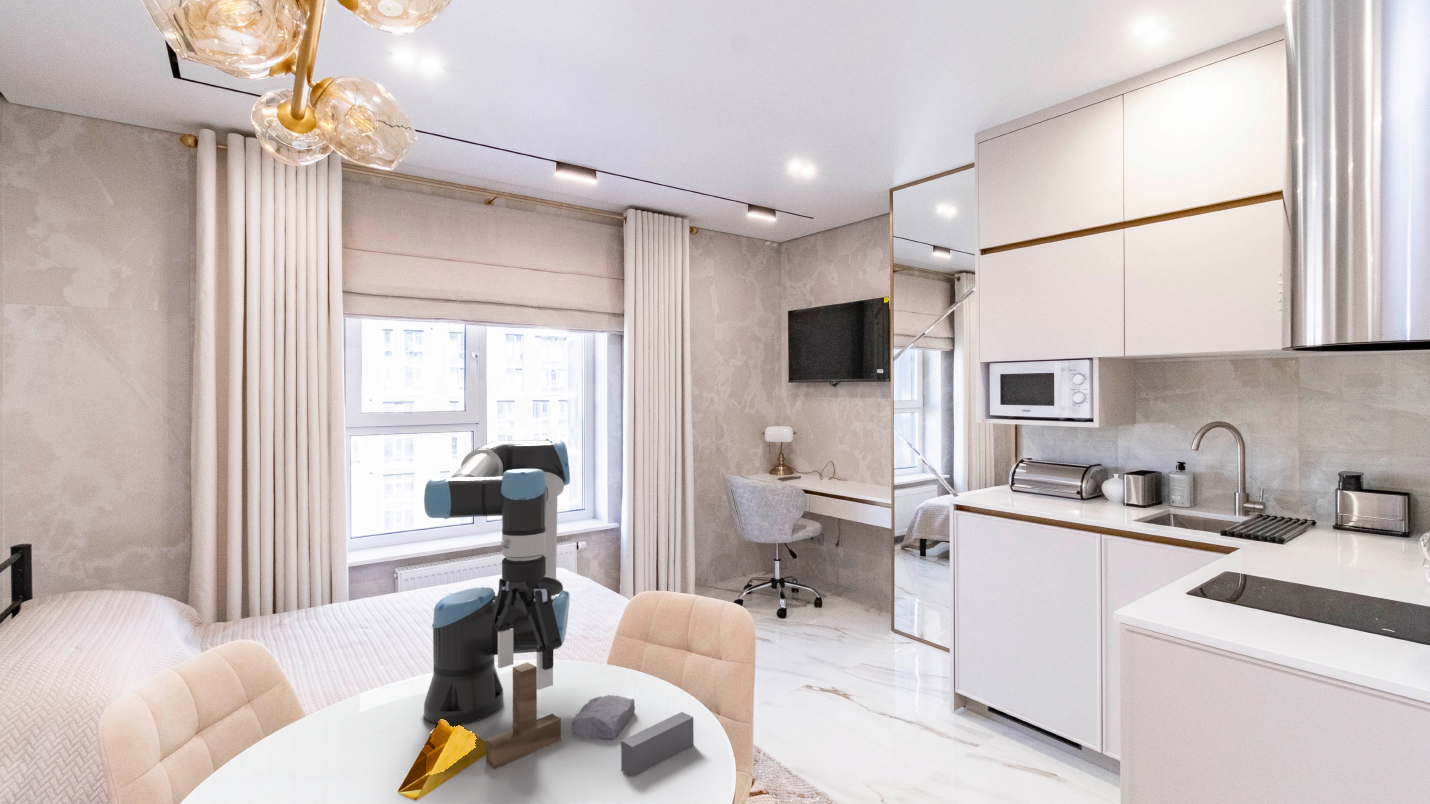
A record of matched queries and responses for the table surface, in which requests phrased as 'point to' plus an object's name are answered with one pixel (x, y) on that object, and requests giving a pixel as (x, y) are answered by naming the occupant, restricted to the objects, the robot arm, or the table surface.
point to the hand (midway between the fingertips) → (524, 676)
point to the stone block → (603, 717)
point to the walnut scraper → (523, 723)
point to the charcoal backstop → (656, 744)
